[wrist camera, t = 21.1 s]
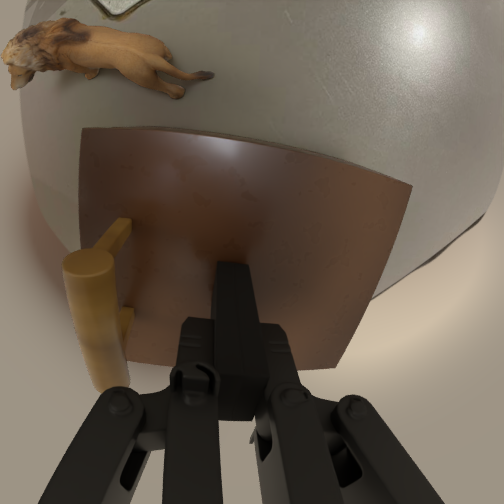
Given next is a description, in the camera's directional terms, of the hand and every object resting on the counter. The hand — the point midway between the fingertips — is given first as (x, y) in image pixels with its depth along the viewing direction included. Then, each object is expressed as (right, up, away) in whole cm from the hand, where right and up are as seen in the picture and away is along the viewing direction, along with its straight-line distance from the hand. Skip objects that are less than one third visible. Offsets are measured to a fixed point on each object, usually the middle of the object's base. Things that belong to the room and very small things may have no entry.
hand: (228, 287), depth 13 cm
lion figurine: (-9, +16, +3) cm, 19 cm away
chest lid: (0, 0, +1) cm, 1 cm away
